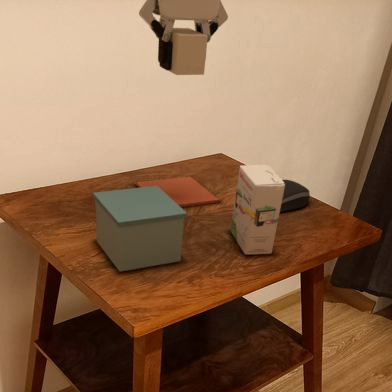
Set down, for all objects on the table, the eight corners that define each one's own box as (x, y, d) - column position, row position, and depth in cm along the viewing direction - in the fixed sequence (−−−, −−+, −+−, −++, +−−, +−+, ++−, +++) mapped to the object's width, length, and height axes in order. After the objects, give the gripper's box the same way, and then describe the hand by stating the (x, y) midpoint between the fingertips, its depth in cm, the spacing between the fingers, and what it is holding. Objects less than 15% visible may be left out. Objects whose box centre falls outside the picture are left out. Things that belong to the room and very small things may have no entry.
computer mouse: (246, 203, 103) (249, 182, 100) (290, 191, 109) (294, 172, 107) (272, 217, 99) (276, 196, 96) (316, 204, 105) (321, 184, 103)
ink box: (229, 231, 92) (238, 163, 85) (256, 230, 94) (267, 163, 86) (244, 255, 86) (255, 183, 79) (272, 254, 87) (287, 183, 80)
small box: (176, 75, 84) (178, 34, 81) (159, 65, 88) (160, 27, 85) (204, 74, 86) (207, 35, 83) (186, 65, 90) (188, 28, 87)
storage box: (118, 273, 78) (118, 222, 73) (94, 240, 85) (92, 192, 80) (183, 261, 83) (187, 213, 78) (155, 232, 90) (157, 185, 85)
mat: (161, 210, 97) (161, 206, 96) (135, 185, 105) (135, 182, 104) (218, 202, 102) (219, 199, 101) (190, 179, 110) (190, 176, 109)
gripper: (229, -70, 82) (216, 63, 93) (124, -82, 75) (123, 63, 86) (255, -67, 77) (238, 73, 88) (145, -79, 70) (141, 74, 81)
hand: (181, 67), depth 87 cm, fingers closed on small box, 5 cm apart
